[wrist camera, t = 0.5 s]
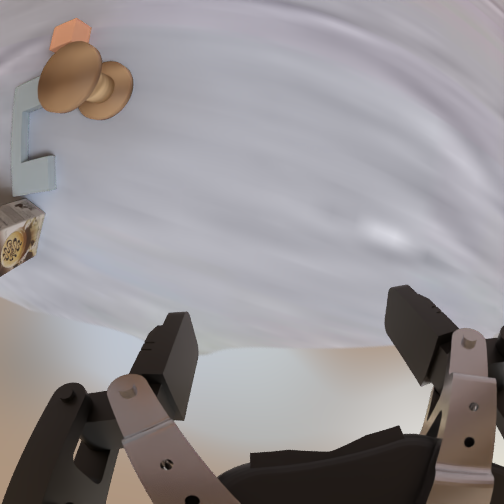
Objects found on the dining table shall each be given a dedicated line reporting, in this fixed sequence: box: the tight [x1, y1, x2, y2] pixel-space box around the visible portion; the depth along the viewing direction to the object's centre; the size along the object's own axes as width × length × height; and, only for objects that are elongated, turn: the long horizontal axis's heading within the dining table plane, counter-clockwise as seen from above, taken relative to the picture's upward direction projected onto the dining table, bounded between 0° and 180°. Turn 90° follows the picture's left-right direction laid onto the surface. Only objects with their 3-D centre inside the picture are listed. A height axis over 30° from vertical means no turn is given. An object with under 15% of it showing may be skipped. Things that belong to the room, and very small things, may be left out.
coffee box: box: [0, 198, 45, 277], centre depth 29 cm, size 9×6×16 cm
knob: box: [38, 41, 133, 120], centre depth 25 cm, size 9×9×11 cm
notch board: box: [11, 76, 56, 197], centre depth 31 cm, size 20×10×2 cm, turn 179°
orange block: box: [49, 18, 91, 53], centre depth 25 cm, size 4×4×5 cm
